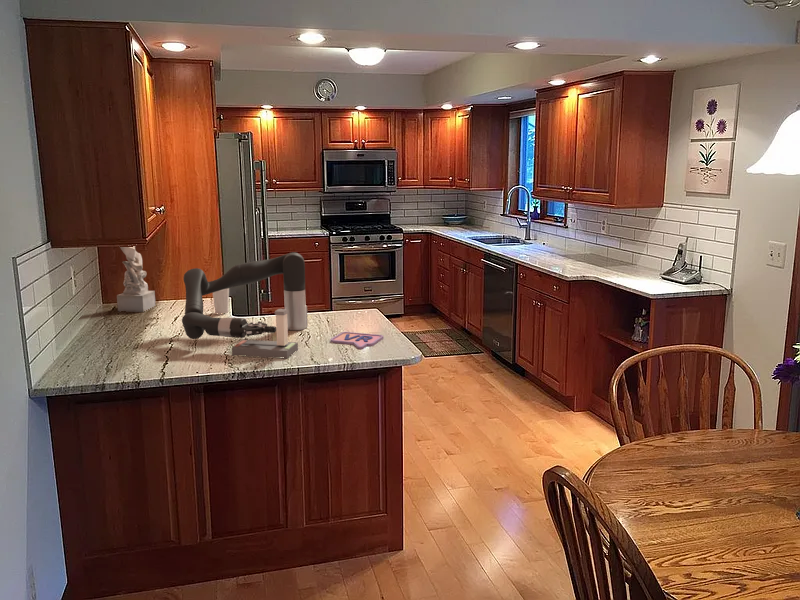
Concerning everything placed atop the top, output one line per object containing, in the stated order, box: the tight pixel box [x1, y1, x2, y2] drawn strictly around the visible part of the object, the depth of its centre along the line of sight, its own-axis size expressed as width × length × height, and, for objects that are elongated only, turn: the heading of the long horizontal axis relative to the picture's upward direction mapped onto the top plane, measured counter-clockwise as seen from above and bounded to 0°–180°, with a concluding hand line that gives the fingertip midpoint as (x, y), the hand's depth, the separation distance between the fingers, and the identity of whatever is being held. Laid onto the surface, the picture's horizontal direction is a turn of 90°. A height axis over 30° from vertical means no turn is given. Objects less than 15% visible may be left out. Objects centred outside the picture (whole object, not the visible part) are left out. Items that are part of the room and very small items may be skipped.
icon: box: [329, 331, 384, 350], centre depth 273 cm, size 19×2×20 cm
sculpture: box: [116, 246, 156, 313], centre depth 330 cm, size 13×13×35 cm
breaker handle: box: [274, 308, 289, 346], centre depth 254 cm, size 5×4×13 cm
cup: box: [212, 288, 230, 315], centre depth 323 cm, size 8×8×12 cm
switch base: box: [231, 339, 299, 359], centre depth 257 cm, size 12×22×3 cm, turn 79°
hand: (275, 329), depth 254 cm, fingers closed
